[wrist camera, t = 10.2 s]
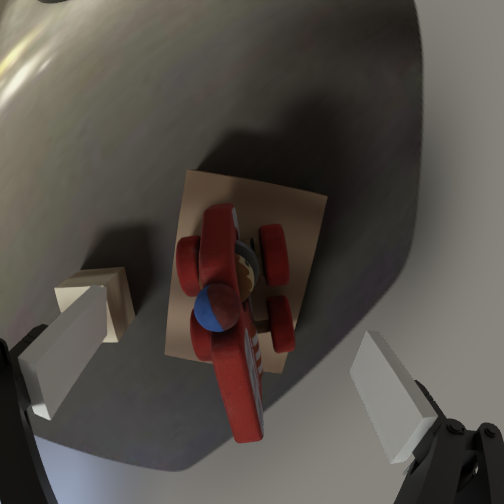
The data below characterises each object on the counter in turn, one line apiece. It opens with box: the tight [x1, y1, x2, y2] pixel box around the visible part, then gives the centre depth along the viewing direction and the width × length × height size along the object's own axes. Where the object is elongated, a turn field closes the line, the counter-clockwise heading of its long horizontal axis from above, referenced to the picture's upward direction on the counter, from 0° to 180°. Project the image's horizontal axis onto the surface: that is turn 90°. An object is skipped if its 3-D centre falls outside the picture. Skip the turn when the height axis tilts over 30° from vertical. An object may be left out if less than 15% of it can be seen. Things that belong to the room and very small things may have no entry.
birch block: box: [54, 267, 135, 342], centre depth 25 cm, size 5×5×5 cm
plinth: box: [165, 170, 328, 373], centre depth 25 cm, size 15×10×4 cm, turn 169°
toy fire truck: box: [176, 203, 295, 443], centre depth 18 cm, size 7×12×10 cm, turn 7°
